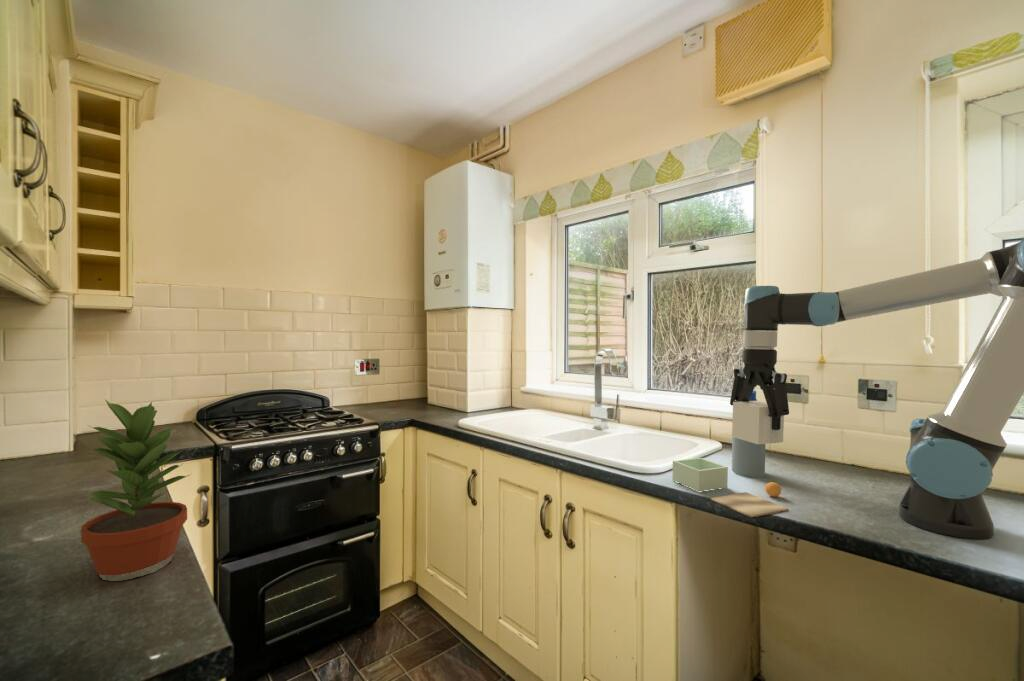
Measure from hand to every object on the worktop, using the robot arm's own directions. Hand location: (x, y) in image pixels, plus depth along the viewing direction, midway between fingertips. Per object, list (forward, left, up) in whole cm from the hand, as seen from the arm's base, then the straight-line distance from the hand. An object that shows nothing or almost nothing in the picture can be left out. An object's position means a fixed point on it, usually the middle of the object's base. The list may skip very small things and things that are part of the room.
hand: (756, 438), depth 114 cm
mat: (-1, +4, -16) cm, 16 cm away
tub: (+15, +4, -16) cm, 22 cm away
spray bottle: (+18, -18, -16) cm, 30 cm away
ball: (+1, -7, -16) cm, 17 cm away
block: (0, 0, 0) cm, 0 cm away
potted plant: (+17, +131, -16) cm, 133 cm away
